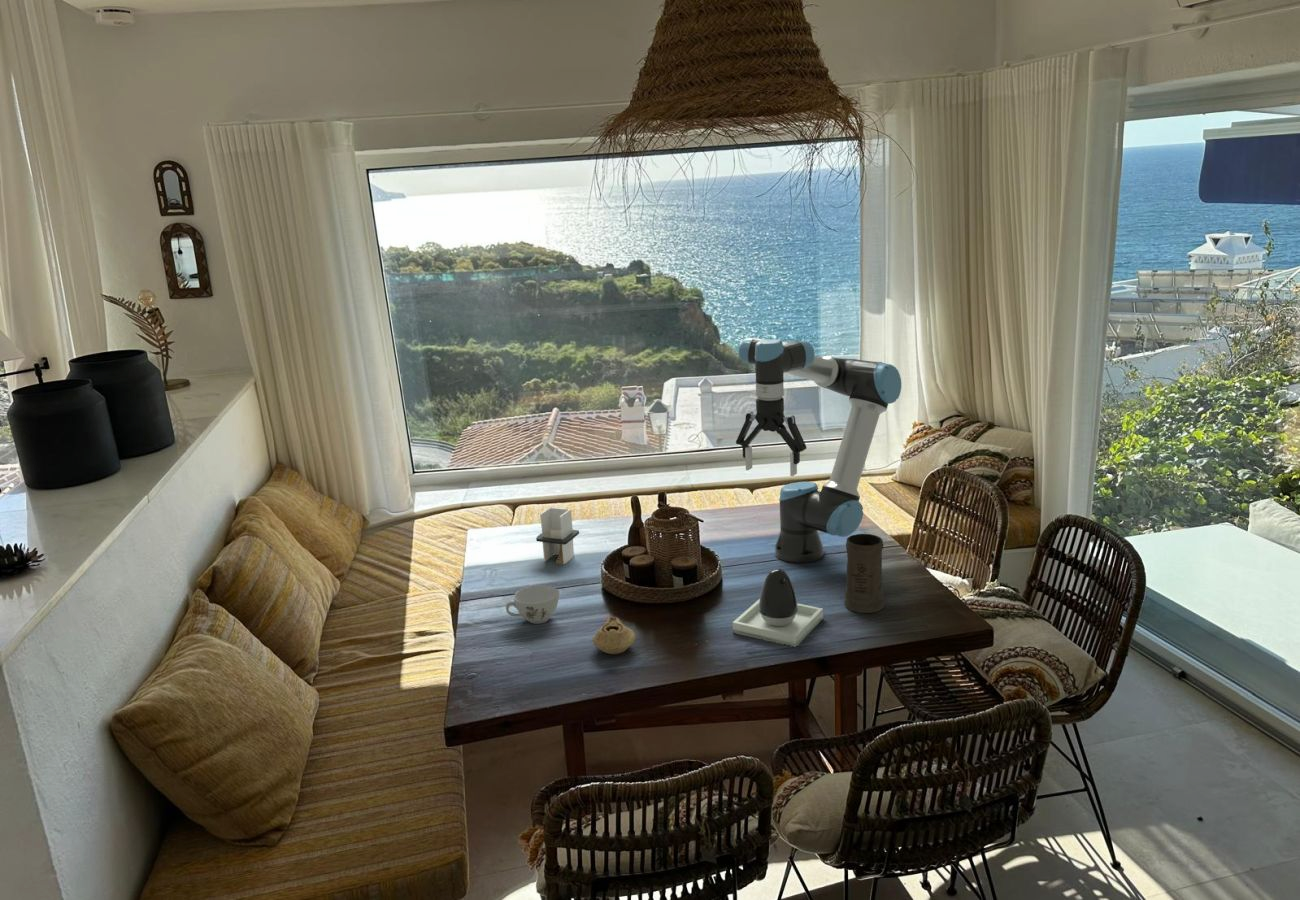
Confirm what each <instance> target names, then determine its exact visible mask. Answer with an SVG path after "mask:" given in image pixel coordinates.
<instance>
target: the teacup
mask: <svg viewBox="0 0 1300 900" xmlns="http://www.w3.org/2000/svg"><path fill="white" fill-rule="evenodd" d="M559 597H560V590H559V589H557V588H556V587H554V586H550V585H545V584H544V585H543V584H534V585H529V586H526V587H523V588H520V589H519V590H517V591H516V592H515V593H514V595H513V600H514V601H508V602H507V603H506V605H505V610H506V613H507V614H508V615H509V616H511V617H522V618H523V619H525V620H526V621H528V622H529V623H531V624H536V625H538V624H540V625H541V624H544V623H547V621H549V620H550V618H551V617H552V616H553V615H554V613H555V611H556V609H557V607H558V603H559ZM512 606H513V607H514V609H516V610H517V611H518V613H515V612H511V611H510V609H509V608H510V607H512Z"/></svg>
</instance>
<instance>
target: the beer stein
mask: <svg viewBox="0 0 1300 900" xmlns="http://www.w3.org/2000/svg"><path fill="white" fill-rule="evenodd" d="M845 548H846V555H847V556H846V557H847V562H846V589H845V591H844V596H845V598H844V601H843V604H844V607H845V608H846V609H848V610H849V611H852V612H854V613H859V614H872V613H876V612H877V613H878V612H879V611H881V610H883V608H884V606H885V602H884V599H883V597H884V591H883V575H882V574H883V570H882V569H883V568H882V567H883V565H882V564H883V561H882V560H883V559H882V558H883V549H884V541H883V539H882V538H881V537H880V536H878V535H875V534H870V533H858V534H853V535H852V534H851V535H849V536H847V539H846V542H845Z"/></svg>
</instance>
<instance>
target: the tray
mask: <svg viewBox="0 0 1300 900" xmlns="http://www.w3.org/2000/svg"><path fill="white" fill-rule="evenodd" d="M759 601H760V598H758V600H756V601H755V602H754V603H753V604H752V605H751V606H750V607H748V608H747V609H746V610H745V611H744V612H743V613H742V614H741V615H740V616H738V617H737V618H736V619H735V620H733V621H732V633H733V634H737V635H741V636H745V637H750V638H753V639H754V638H755V639H758V640H759V639H760V640H762V639H763V641H767V642H772V643H775V642H776V644H779V643H780V645H784V644H786V645H785V646H788V645H790V646H789V647H792V646H794V648H797V647H798V646H799V645H800V644H801V643H802V642H803V640H804V639H806V637H807V636H808V635H809V634H810V633H811V632H812V631H813V630H814V629H815V628H816V627H817V626H818V625H819V623H820V622H822V621H823V619H824V608H822V607H817V606H812V605H807V604H803V603H798V602H797V606H798V611H797V613H796V615H795V618H794V619H793V621H792V622H791V623H789V624H787V625H785V626H773V625H770V624H768V623H767V622H765V621H764V619H763V618H762V616H761V613H760V611H759ZM796 646H797V647H796Z"/></svg>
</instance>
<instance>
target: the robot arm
mask: <svg viewBox="0 0 1300 900" xmlns="http://www.w3.org/2000/svg"><path fill="white" fill-rule="evenodd" d="M738 356H739V359H740V361H742V363H745V364H748V365H754V366H755V396H756V397H757V398H755V411H756V413H754V412H753V411H749V412H748V413H746V414H745V421H744V423H743V425H742V427H741V429H740V431H739V434H738V436H737V439H736V441H735V443H736V445H739V446H741V447H742V458H744V459H745V471H750V470H751V469H753V445H750V444H751V442H752V441H753V440H754V439H755V438H756V437H757V436H758V435H759V433H760V432H762V430H763V431H765V432H767V431H769V432H776V433H777V434H778V435H779V436H780V437H781V438H782V439H783V441H784V443H786V445H787V446H788V447H789V449H790V450H791V452H790V453H789V454H790V455H789V456H790V457H789V460H790V461H789V462H790V463H789V464H790V465H789V466H790V467H789V469H790V471H789V472H790V473H789V474H790V477H794V476H796V475H797V474H798V465H799V463H800V462H801V459H800V458H801V457H800V456H801V452H803V451H806V449H807V445H806V442H805V441H804V438H803V436H802V434H801V432H800V429H799V427H798V425H797V424H796V423H797V422H796V417H795V415H790V416H785V413H784V411H785V405H784V404H785V400H784V398H783V397H784V396H785V395H784V394H785V391H784V390H785V389H784V374H788V375H792V376H794V377H798V378H802V379H805V380H809V381H812V382H814V383H815V385H817V386H818V387H821V388H824V389H828V390H829V391H833V392H834V393H837V394H840V395H843V396H847V397H849V399H848V402H849V404H850V405H851V409H850V412H849V415H848V418H847V421H846V425H845V428H844V432H843V435H842V438H841V441H840V445H839V449H838V451H837V454H836V457H835V461H834V465H833V468H832V471H831V473H830V478H829V480H828V482H826V483H825V484H823V485H822V487H821V490H819V486H818V484H817V483H816V482H813V481H798V482H791V483H788V484H784V486H782V487H781V489H780V491H779V523H780V527H779V529H780V531H779V534H778V537H777V540H776V542H775V547H774V555H775V556H776V558H778V559H780V560H782V561H784V562H788V563H798V564H799V563H800V564H801V563H811V562H815V561H817V560H820V559H821V558H823V557H824V545H823V542H822V540H821V536H820V533H819V532H823V533H826V534H828V535H830V536H837V537H842V538H845V537H850V536H852V534H853V533H855V532H857V531H856V530H857V529H858V528H859V526H860V525H861V523H862V522H863V521H862V520H863V517H864V507H863V505H862V503H861V502H860V498H861V495H860V494H859V491H858V487H859V485H860V481H861V477H862V475H863V470H864V468H865V464H866V461H867V458H868V455H869V452H870V449H871V448H870V447H871V444H872V441H873V437H874V436H875V435H874V434H875V432H876V428H877V426H878V425H877V424H878V421H879V419H880V415H881V414H883V413H885V412H887V409H888V407H889V405H891V404H893V403H895V402H896V401H897V400H898V399H899V397H900V395H901V391H902V377H901V375H900V372H899V369H897V367H896V366H895V365H893V364H891V363H885V362H882V361H873V360H872V361H871V360H862V359H857V358H838V357H833V356H830V355H829V356H828V355H826V356H817V355H815V349H814V347H813V345H812V344H811V343H810V342H808V341H807V340H796V341H794V342H790V341H783V340H782V341H781V340H779V339H765V338H757V337H745V338H744V339H742V340H741V342H740V343H739V347H738ZM753 421H756V422H757V425H756V426H755V427H754V428H753V430H752V431H751V432H750V434H749V435H748V436H747V434H748V432H749V431H750V428H751V426H752V424H753ZM784 423H785V424H786V425H787V426H788V429H789V431H790V432H789V431H788V430H787V428H786V426H785V424H784ZM790 433H791V434H790ZM746 436H747V437H746Z"/></svg>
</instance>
